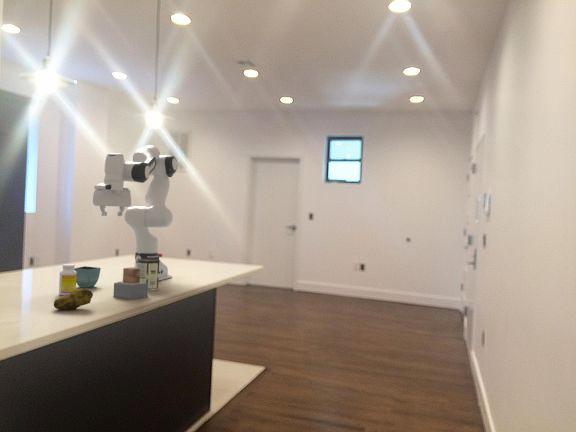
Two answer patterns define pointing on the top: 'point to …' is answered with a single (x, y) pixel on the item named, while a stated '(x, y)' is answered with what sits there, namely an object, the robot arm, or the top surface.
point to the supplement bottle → (67, 279)
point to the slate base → (130, 290)
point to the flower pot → (87, 276)
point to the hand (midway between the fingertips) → (112, 215)
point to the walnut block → (131, 275)
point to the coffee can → (149, 272)
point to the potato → (74, 299)
